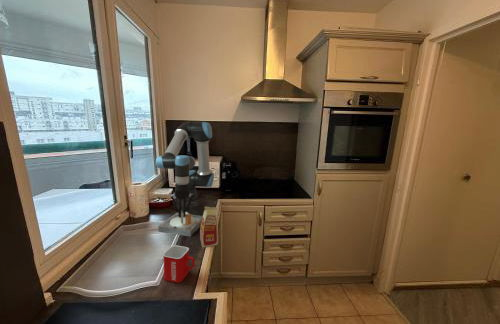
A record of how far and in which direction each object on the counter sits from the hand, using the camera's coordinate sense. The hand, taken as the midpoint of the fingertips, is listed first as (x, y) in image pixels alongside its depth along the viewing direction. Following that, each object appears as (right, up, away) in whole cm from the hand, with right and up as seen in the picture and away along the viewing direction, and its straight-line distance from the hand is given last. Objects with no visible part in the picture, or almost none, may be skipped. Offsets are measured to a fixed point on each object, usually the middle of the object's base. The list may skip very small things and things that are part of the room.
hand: (181, 222), depth 125 cm
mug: (+11, -12, -36) cm, 40 cm away
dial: (-1, -2, +6) cm, 7 cm away
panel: (-1, -4, +6) cm, 8 cm away
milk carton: (+18, -8, -9) cm, 22 cm away
